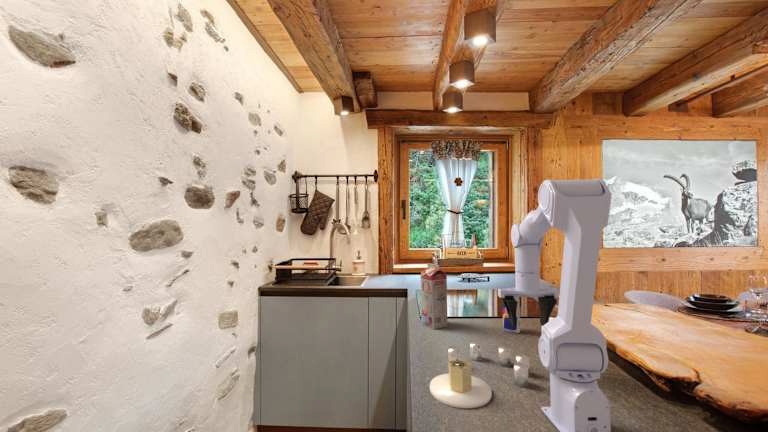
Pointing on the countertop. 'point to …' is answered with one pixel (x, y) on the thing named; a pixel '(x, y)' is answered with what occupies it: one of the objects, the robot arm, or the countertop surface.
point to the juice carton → (433, 297)
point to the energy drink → (506, 321)
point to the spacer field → (504, 360)
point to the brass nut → (460, 376)
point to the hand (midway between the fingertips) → (528, 325)
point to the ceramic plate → (460, 400)
